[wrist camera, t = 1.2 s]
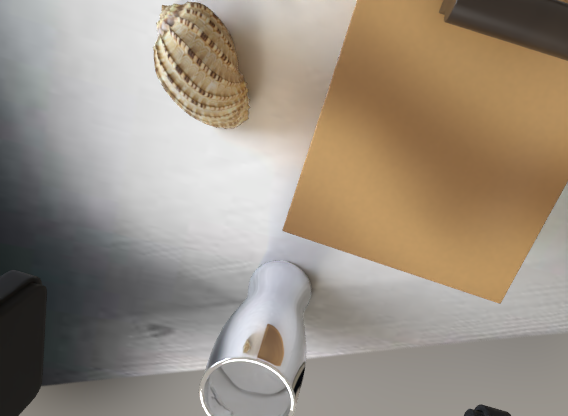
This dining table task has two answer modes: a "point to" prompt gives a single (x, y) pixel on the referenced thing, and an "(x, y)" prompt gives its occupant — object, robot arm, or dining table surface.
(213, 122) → the seashell
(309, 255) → the dining table surface
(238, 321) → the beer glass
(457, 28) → the lid
